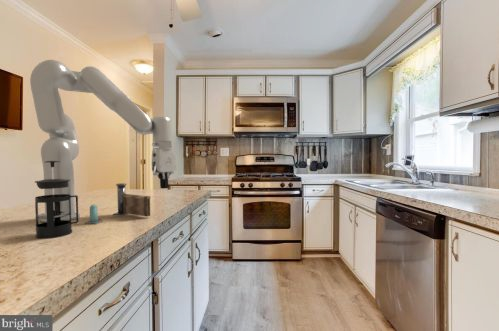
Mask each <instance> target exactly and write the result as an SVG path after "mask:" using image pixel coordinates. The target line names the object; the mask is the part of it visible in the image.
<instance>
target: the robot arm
mask: <svg viewBox="0 0 499 331" xmlns="http://www.w3.org/2000/svg"><path fill="white" fill-rule="evenodd" d="M29 80H30V81H29V82H30V85H29V86H30V91H31V95H32V99H33V105H34V110H35V114H36V119H37V124H38V127H39V129H41V131H43V133H46V134H48V136H49V138H47V140H45V141H44V142H43V143H42V145H41V148H40V156H41V163H42V168H43V169H42V170H43V180H45V179H52V167H51V164H50V162H45V161H60V162H54V167H53V174H54V179H68V180H70V181H69V187H65V188H54V194H70V195H71V196H72V195H75V179H74V178H75V174H74V164H73V160H75V159H76V158H77V157H78V155H79V154H80V153H79V152H80V146H79V142H78V137H77V132H76V127H75V124H74V122H73V119H72V118H71V117H70V116H69V115H67V114H66V113H65V112H64V107H63V102H62V99H61V94H60V91H59V89H60V90H63V91H67V92H76V93H86V94H88V93H89V94H93V95H94V96H96V98H97V99H99V101H100V102H102V103H103V104H104V105H105V106H106V107H108V109H109V110H110V111H113V112H114V113H116V114H117V115H118V116H120V118H121V119H123V120H124V121H125V122H126V123H127V124H128V125H129V126H130V127H131V128H132V129H133V130H134V131H135V132H136V133H137V134H139V135H143V136H145V135H152V144H151V146H153V149H152V151H151V171H152V172H153V173H152V175H153V176H156V177H158V180H159V184H160V186H159V188H160V189H168V188H169V179H170V176H171V175H173V174H174V172H175V171H176V169H177V168H176V167H177V164H176V158H175V157H176V156H175V152H174V149H173V148H172V147H173V146H172V126H171V125H172V124H171V119H170V117H168V116H155V117H152V118H150V116H148V114H147V113H145V112H144V111H143V110H142V109H141V108H140V107H139V106H138V105H137V104H136V103H135V102H133V101H132V99H131V98H130V97H128V96H127V95H126V94H125V93H124V91H122V90H121V89H120V88H119V87H118V86H117V85H116V84H115V83H114V81H112V80H111V79H110V78H108V76H107V75H106V74H104V73H103V72H102V71H101V70H100V69H98V68H96V67H94V66H92V65H91V66H90V65H89V66H86V67H84V68H82V69H81V71H75V70H71V69H70V68H69V67H68V66H66V64H64V63H62V62H60V61H58V60H55V59H46V60H44V61H41V62H39V63H38V64H37V65H36V66H35V67H34V68H33V69H32V71H31V74H30V78H29ZM43 192H44V195H53V189H43ZM44 195H43V196H44ZM60 211H68V212H69V200H67V201H60ZM44 213H47V209H46V203H44ZM78 218H80V213H79V212H78ZM61 220H69V221H70V216H69V215H67V216H64V217H61ZM73 220H76V197H71V221H73ZM39 221H40V222H41V223H45V222H47V219H40V218H39Z"/></svg>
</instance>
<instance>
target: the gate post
mask: <svg viewBox="0 0 499 331" xmlns="http://www.w3.org/2000/svg"><path fill="white" fill-rule="evenodd" d="M115 186H116V188H117V189H116V191H117V192H116V193H117V212H115V213H112V216H126V215H128V214H127V213H123V194H126V186H127V183H125V182H120V183H116V184H115Z"/></svg>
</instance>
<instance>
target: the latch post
mask: <svg viewBox="0 0 499 331" xmlns="http://www.w3.org/2000/svg"><path fill="white" fill-rule="evenodd" d="M98 214H99V213H98V206H97V204H91V205H90V206H89V220H88V221H87V222H84V225H97V224H100V223H103V220H101V219H100V220H99V218H98Z"/></svg>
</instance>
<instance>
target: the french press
mask: <svg viewBox="0 0 499 331" xmlns="http://www.w3.org/2000/svg"><path fill="white" fill-rule="evenodd" d="M45 162H50V164H51V167H52V179H45V180H44V179H42V180H35V181H34V183H35V184H36V186H37V188H38V189H40V190H44V189H53V195H39V196H35V197H34V204H35V206H34V207H35V232H36V233H35V238H36V239H42V240H43V239H54V238H55V239H56V238H60V237H65V236H68V235H70V234H72V233H73V229H72V225H74V224H78V223H79V221H80V220H79V217H78V213H79V197H78V195H77V194H74V195H72V196H71V195H70V194H54V188H65V187H69V181H70V180H68V179H54V174H53V167H54V162H60V161H45ZM71 197H74V198H75V213H76V219H75V220H76V221H72V220H71ZM67 200H69V212H68V211H60V201H67ZM38 203H39V204H45V203H46V209H47V213H45V212H44V213H39V204H38ZM67 215H69V216H70V220H61V217H64V216H67ZM40 219H47V222H41V223H39V220H40Z"/></svg>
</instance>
